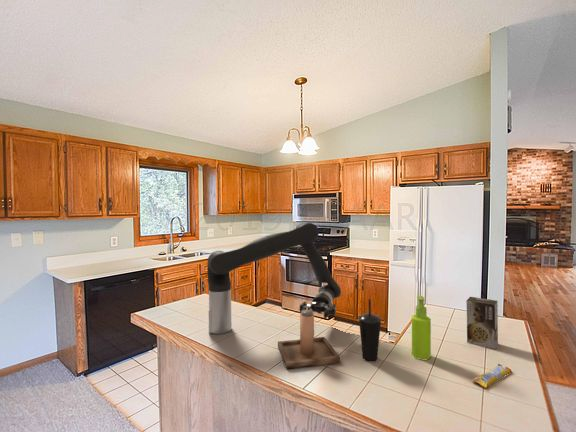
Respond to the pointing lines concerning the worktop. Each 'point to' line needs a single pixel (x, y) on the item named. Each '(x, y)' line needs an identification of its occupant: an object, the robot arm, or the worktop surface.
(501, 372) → the candy bar
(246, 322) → the worktop surface
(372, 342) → the drinking cup
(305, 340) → the tan cylinder
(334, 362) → the tray
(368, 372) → the worktop surface
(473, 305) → the coffee box
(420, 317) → the soap dispenser
